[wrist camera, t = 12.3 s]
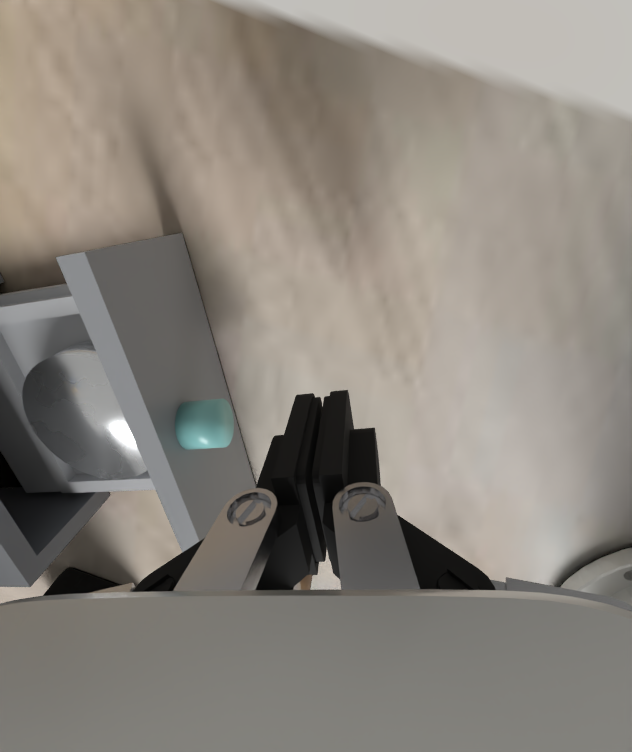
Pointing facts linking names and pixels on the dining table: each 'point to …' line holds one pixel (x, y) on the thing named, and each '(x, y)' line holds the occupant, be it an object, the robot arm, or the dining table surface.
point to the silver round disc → (80, 414)
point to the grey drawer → (131, 378)
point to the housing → (39, 529)
